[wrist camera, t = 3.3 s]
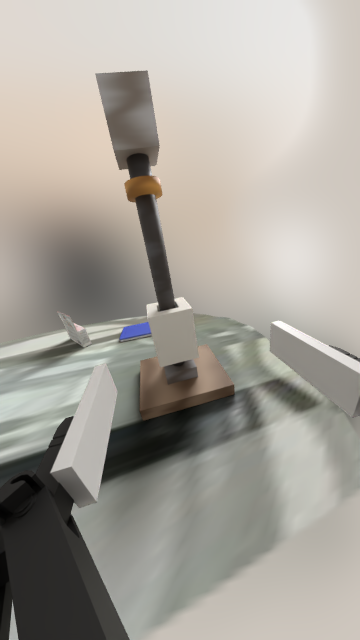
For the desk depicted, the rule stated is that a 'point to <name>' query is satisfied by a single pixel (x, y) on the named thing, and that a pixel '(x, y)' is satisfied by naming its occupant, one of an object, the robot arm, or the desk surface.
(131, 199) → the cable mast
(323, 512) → the desk surface
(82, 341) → the ink cartridge box
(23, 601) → the robot arm
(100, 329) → the desk surface
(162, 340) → the sleeve
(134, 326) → the hard drive
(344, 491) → the desk surface
